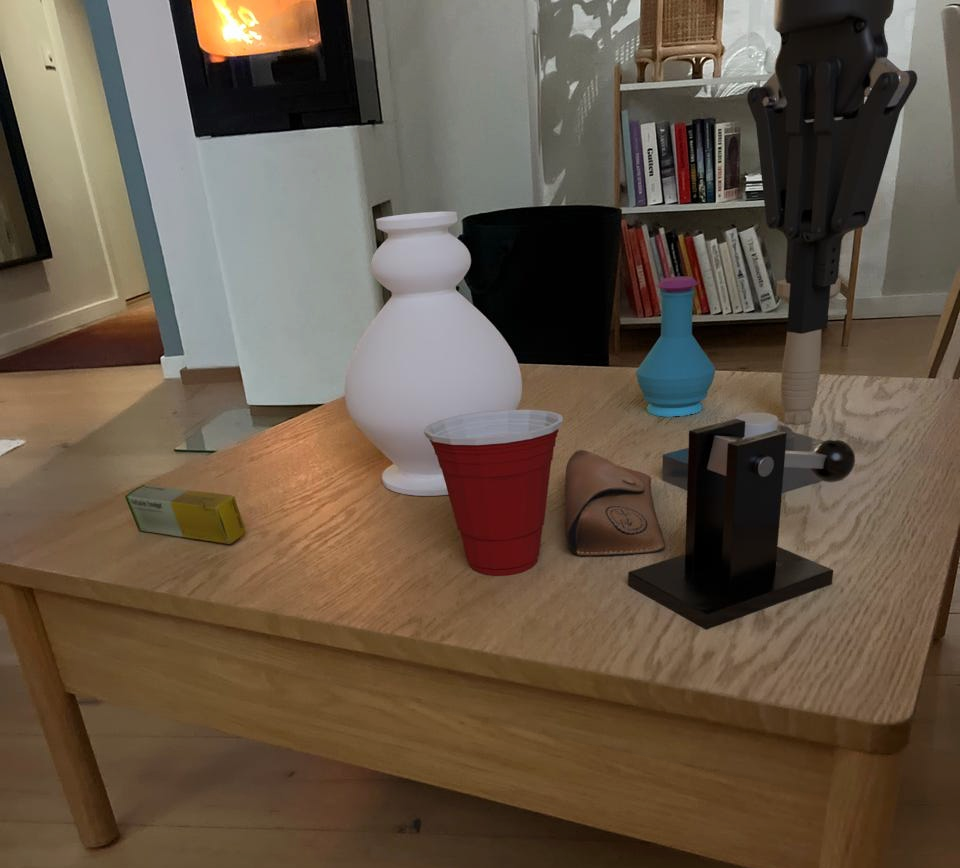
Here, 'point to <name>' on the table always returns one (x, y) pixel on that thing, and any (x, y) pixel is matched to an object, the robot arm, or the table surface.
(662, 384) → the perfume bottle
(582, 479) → the sunglasses case
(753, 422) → the flush button
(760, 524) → the lever bracket
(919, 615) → the table surface
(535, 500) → the plastic cup
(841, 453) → the lever with black ball
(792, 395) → the handle
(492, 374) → the decorative vase
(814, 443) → the block
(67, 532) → the table surface
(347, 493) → the table surface
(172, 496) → the medication box
